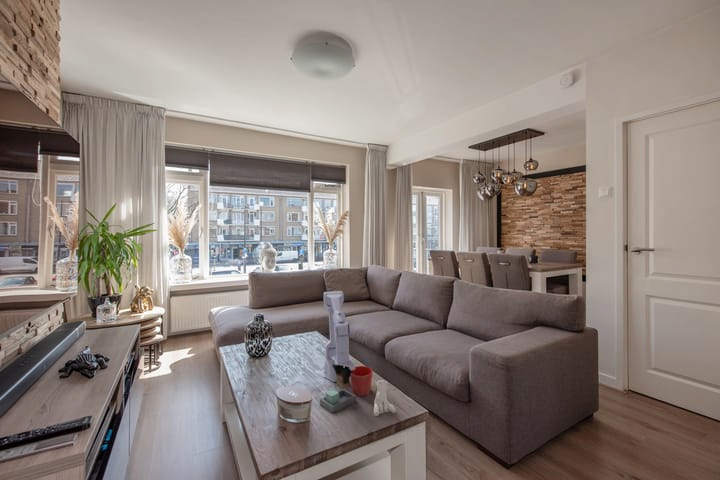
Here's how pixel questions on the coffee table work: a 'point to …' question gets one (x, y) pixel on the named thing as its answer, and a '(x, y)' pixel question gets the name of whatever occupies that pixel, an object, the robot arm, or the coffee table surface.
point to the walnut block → (341, 381)
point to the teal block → (332, 397)
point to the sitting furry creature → (382, 399)
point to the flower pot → (361, 380)
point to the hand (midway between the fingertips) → (343, 381)
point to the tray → (344, 400)
